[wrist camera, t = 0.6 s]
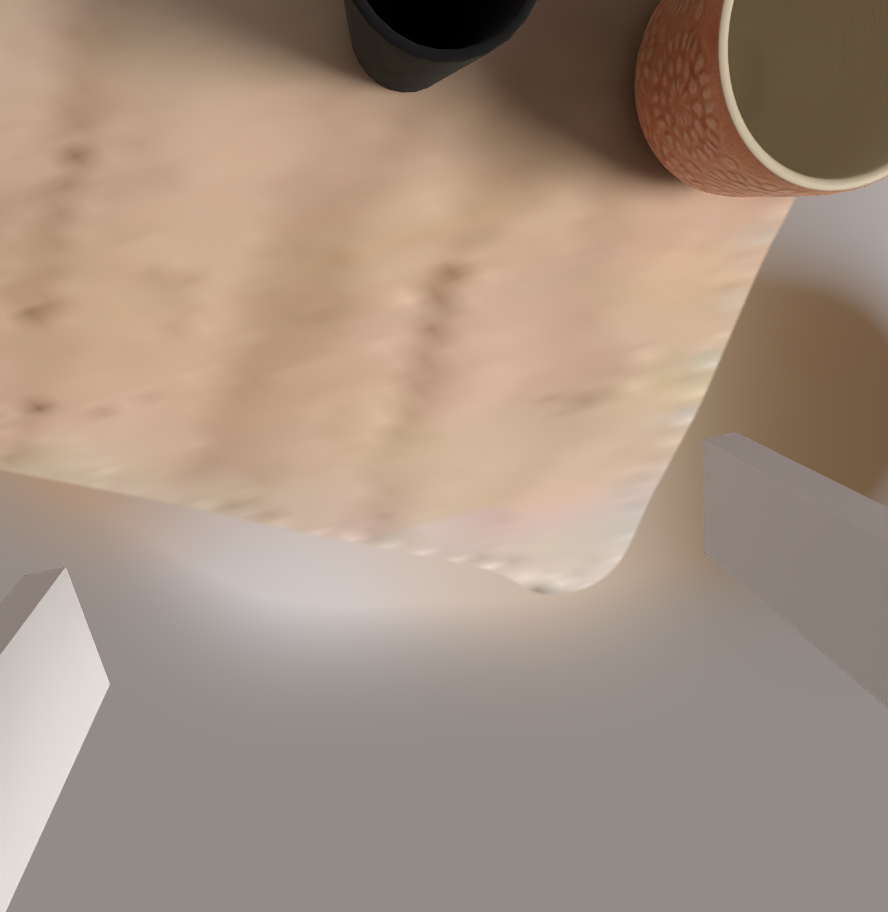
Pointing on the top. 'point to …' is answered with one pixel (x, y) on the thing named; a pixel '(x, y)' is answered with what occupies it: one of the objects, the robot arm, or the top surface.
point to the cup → (428, 36)
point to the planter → (767, 94)
